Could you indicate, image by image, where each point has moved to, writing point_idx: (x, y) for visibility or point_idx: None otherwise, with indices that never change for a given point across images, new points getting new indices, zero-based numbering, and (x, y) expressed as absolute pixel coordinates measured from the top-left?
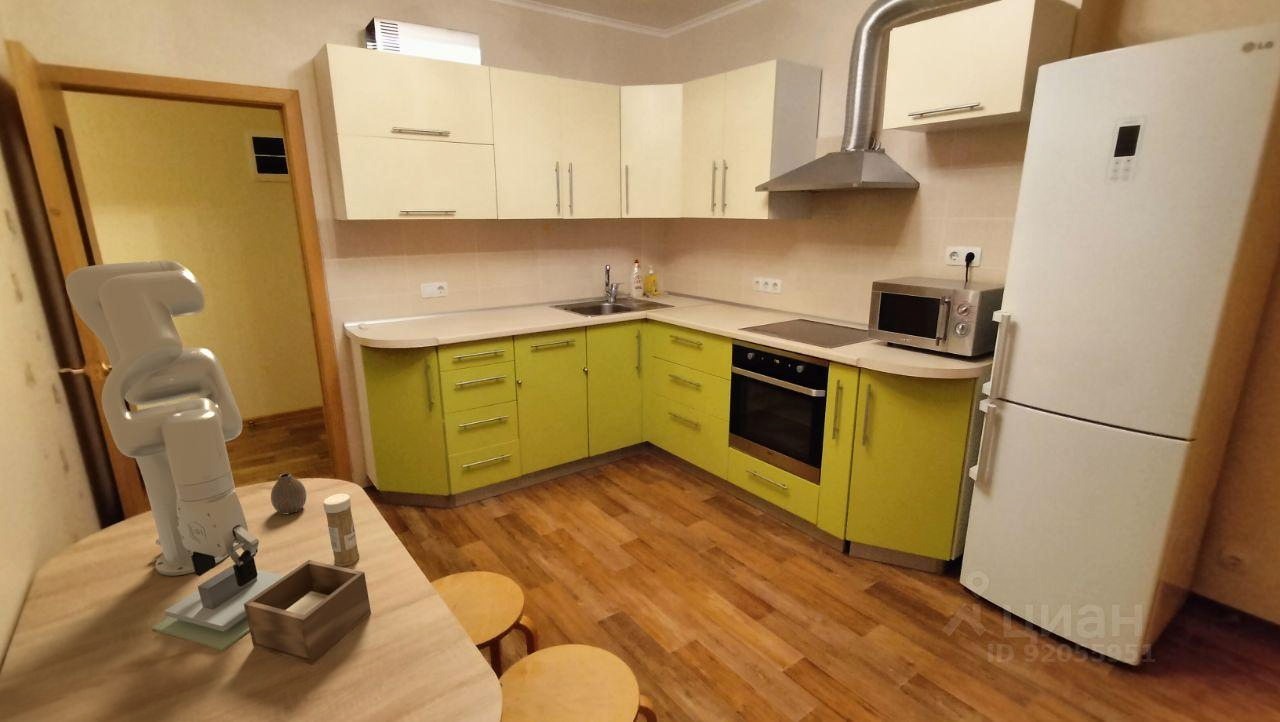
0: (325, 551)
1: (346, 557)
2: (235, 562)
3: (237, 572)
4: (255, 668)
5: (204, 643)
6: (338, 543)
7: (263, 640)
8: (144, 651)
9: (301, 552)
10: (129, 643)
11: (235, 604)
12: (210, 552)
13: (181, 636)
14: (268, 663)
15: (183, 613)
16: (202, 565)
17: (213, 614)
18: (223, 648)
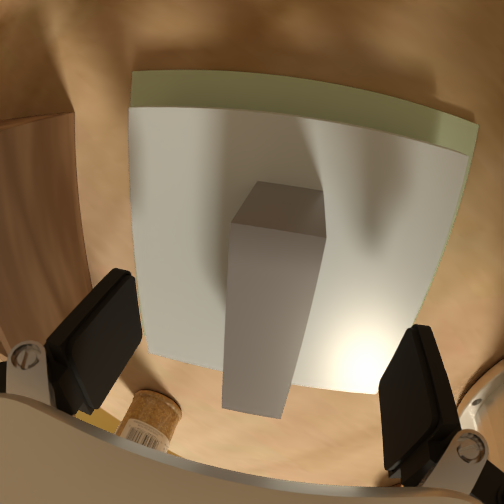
0: (234, 430)
1: (131, 406)
2: (38, 362)
3: (69, 315)
4: (28, 68)
5: (212, 70)
6: (121, 436)
7: (21, 120)
8: (405, 20)
9: (288, 431)
10: (487, 61)
11: (196, 223)
12: (80, 462)
13: (335, 84)
14: (18, 91)
15: (374, 142)
16: (407, 377)
17: (229, 155)
18: (133, 74)
